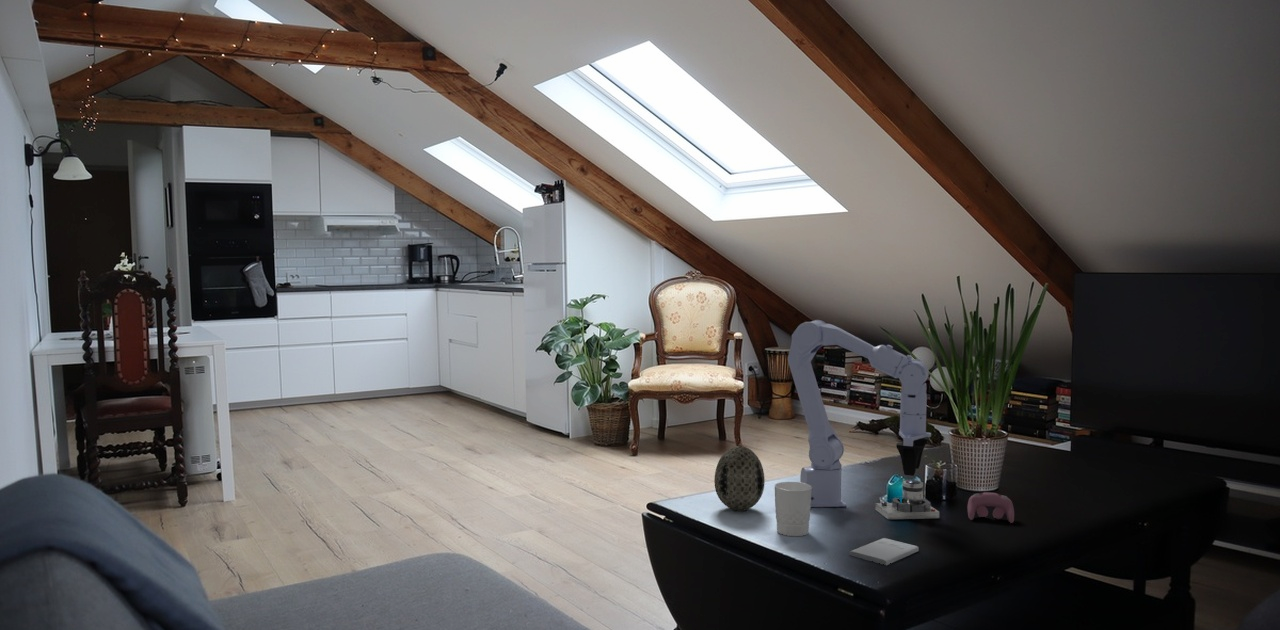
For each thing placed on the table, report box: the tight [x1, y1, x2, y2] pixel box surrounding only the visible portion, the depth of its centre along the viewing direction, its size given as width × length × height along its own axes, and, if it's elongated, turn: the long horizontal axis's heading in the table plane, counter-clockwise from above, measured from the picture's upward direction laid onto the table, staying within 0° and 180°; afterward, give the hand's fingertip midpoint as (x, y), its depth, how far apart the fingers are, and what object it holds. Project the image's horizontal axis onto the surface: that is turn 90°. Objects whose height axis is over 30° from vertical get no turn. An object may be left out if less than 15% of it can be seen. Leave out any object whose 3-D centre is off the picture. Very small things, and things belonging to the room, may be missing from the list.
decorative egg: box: [714, 445, 766, 512], centre depth 209 cm, size 12×12×15 cm
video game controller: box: [967, 492, 1015, 524], centre depth 202 cm, size 10×5×7 cm, turn 72°
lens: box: [901, 479, 924, 505], centre depth 206 cm, size 5×5×6 cm
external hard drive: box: [849, 537, 919, 566], centre depth 178 cm, size 2×8×12 cm
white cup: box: [774, 481, 812, 537], centre depth 192 cm, size 8×8×10 cm
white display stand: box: [874, 497, 940, 520], centre depth 206 cm, size 12×8×3 cm, turn 95°
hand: (911, 471), depth 206 cm, fingers open, 7 cm apart
